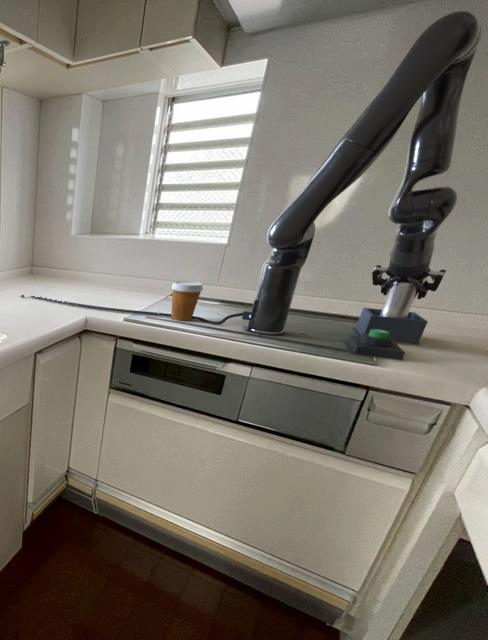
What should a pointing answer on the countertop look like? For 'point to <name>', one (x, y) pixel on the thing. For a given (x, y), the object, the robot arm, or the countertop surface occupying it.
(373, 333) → the button
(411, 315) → the basket
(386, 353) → the control block
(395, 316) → the silver metal bottle
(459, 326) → the countertop surface
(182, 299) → the disposable coffee cup
